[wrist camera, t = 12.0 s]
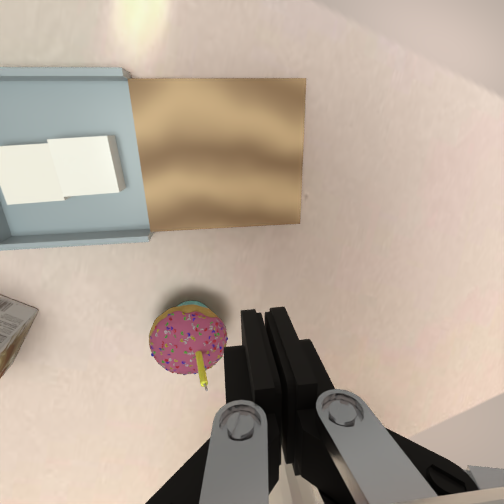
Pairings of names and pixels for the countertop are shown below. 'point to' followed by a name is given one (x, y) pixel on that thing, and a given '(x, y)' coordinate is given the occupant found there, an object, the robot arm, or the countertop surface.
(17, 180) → the tile
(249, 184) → the board
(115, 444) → the countertop surface
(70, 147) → the tile
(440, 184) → the countertop surface
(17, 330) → the coffee box
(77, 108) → the tray
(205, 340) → the cupcake
